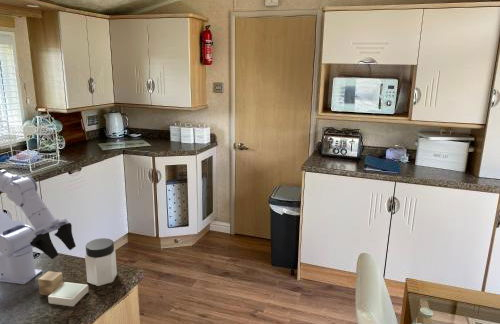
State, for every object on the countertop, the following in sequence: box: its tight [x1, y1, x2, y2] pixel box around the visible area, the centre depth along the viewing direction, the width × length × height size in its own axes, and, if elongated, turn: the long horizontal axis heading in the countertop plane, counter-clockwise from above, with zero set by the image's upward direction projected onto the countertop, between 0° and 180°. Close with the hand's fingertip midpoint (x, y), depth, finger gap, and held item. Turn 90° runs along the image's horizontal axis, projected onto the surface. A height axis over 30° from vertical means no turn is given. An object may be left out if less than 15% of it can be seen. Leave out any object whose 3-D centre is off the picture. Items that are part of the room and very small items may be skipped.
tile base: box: [47, 281, 89, 307], centre depth 108 cm, size 8×8×2 cm
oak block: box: [37, 270, 64, 296], centre depth 110 cm, size 4×4×5 cm
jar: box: [84, 237, 118, 287], centre depth 117 cm, size 9×8×12 cm
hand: (64, 252), depth 109 cm, fingers open, 7 cm apart
